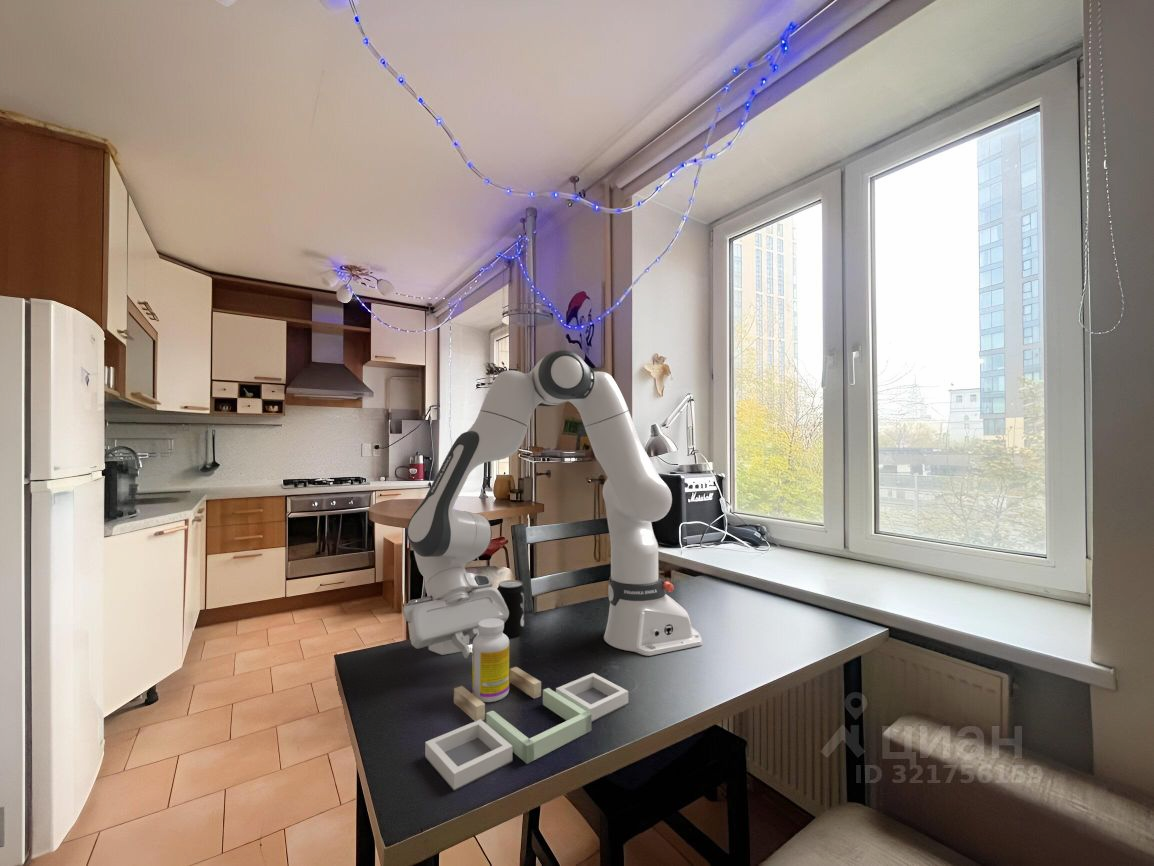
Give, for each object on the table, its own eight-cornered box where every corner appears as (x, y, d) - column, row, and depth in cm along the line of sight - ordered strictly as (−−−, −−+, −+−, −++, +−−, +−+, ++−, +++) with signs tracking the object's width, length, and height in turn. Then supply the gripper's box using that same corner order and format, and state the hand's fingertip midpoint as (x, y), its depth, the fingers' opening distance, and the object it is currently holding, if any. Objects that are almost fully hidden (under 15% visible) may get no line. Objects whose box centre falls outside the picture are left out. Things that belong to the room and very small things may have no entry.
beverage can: (518, 639, 112) (519, 587, 113) (492, 637, 114) (492, 586, 114) (527, 629, 119) (527, 580, 119) (501, 627, 120) (502, 578, 120)
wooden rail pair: (453, 702, 84) (454, 688, 85) (516, 679, 93) (516, 666, 93) (476, 722, 78) (476, 707, 79) (541, 695, 87) (541, 681, 87)
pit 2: (555, 700, 85) (555, 688, 85) (593, 684, 91) (593, 672, 91) (590, 722, 78) (590, 709, 79) (628, 703, 84) (628, 691, 84)
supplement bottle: (516, 693, 88) (517, 622, 88) (487, 708, 83) (488, 632, 83) (493, 681, 92) (494, 613, 93) (464, 694, 87) (465, 622, 88)
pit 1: (425, 757, 70) (425, 741, 70) (480, 733, 76) (480, 719, 76) (454, 791, 63) (454, 773, 63) (512, 761, 69) (512, 746, 69)
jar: (438, 638, 113) (439, 586, 113) (472, 639, 112) (473, 587, 113) (423, 654, 104) (424, 598, 104) (460, 656, 103) (460, 599, 104)
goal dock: (486, 728, 77) (486, 712, 77) (548, 702, 85) (548, 687, 85) (526, 763, 68) (527, 745, 68) (591, 730, 76) (591, 714, 76)
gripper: (405, 593, 92) (426, 662, 84) (497, 575, 105) (523, 633, 98) (396, 611, 95) (415, 679, 88) (487, 591, 109) (511, 648, 101)
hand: (473, 655), depth 93 cm, fingers closed
